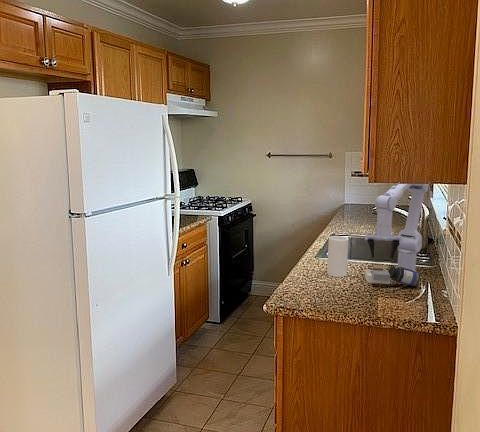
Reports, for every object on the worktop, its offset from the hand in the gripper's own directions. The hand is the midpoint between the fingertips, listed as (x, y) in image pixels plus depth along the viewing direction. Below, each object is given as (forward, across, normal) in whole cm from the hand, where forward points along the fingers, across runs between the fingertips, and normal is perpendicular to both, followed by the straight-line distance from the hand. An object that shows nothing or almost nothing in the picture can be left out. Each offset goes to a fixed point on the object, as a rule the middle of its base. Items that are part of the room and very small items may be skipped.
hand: (382, 257), depth 194 cm
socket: (+9, -2, -1) cm, 10 cm away
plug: (+9, -2, -1) cm, 10 cm away
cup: (+10, -18, +4) cm, 20 cm away
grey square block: (+6, -1, -9) cm, 11 cm away
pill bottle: (+6, +13, -6) cm, 16 cm away
